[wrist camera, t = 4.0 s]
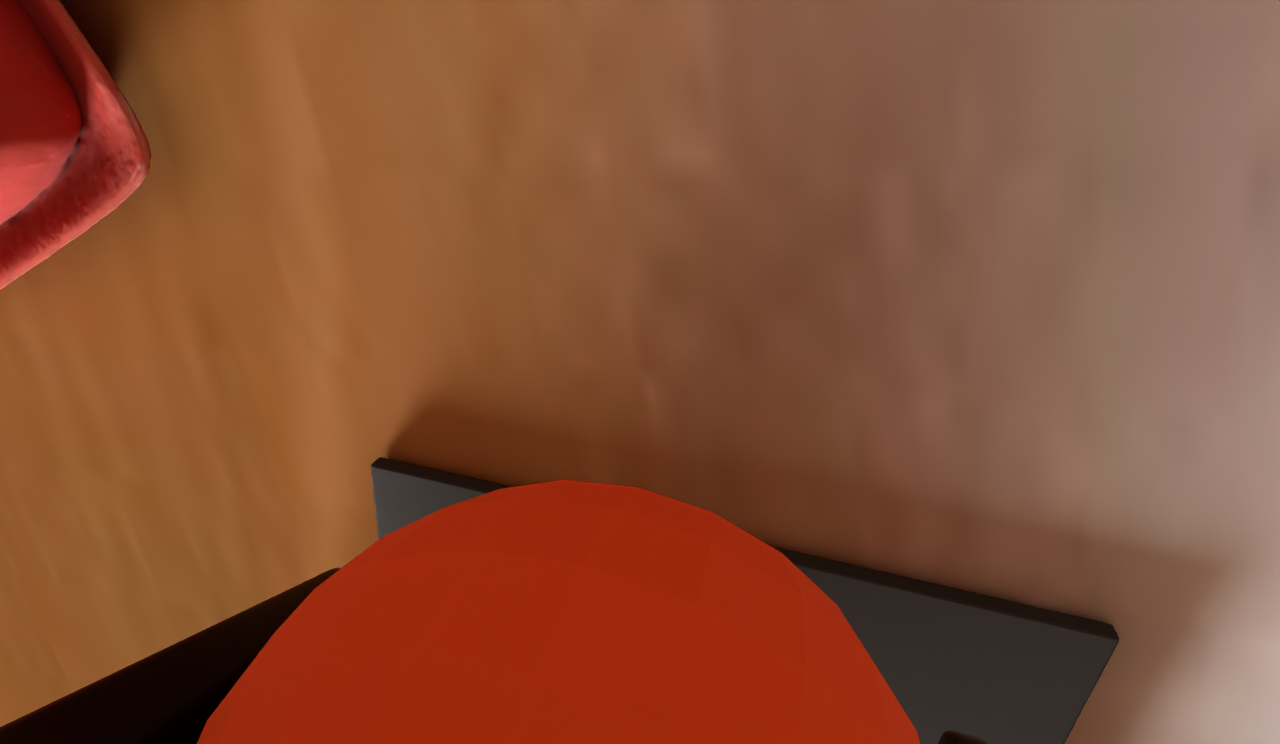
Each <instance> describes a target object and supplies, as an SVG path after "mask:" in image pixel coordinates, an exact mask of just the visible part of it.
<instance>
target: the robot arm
mask: <svg viewBox="0 0 1280 744" xmlns="http://www.w3.org/2000/svg"><path fill="white" fill-rule="evenodd" d="M340 569H341V568H334V569H331V570H329V571H326V572H324V573H322V574H320V575H318V576H316V577H314V578H312V579H310V580H308V581H306V582H303V583H301V584H299V585H297V586H295V587H293V588H291V589H289V590H287V591H285V592H283V593H280V594H278V595H276V596H274V597H272V598H270V599H268V600H266V601H264V602H262V603H259V604H257V605H255V606H253V607H251V608H249V609H247V610H245V611H243V612H241V613H239V614H236V615H234V616H232V617H230V618H228V619H226V620H224V621H222V622H220V623H218V624H216V625H213V626H211V627H209V628H207V629H205V630H203V631H201V632H199V633H197V634H195V635H193V636H190V637H188V638H186V639H184V640H182V641H180V642H178V643H176V644H174V645H172V646H170V647H167V648H165V649H163V650H161V651H159V652H157V653H155V654H153V655H151V656H149V657H146V658H144V659H142V660H140V661H138V662H136V663H134V664H132V665H130V666H128V667H126V668H123V669H121V670H119V671H117V672H115V673H113V674H111V675H109V676H107V677H105V678H103V679H100V680H98V681H96V682H94V683H92V684H90V685H88V686H86V687H84V688H82V689H80V690H77V691H75V692H73V693H71V694H69V695H67V696H65V697H63V698H61V699H59V700H57V701H54V702H52V703H50V704H48V705H46V706H44V707H42V708H40V709H38V710H36V711H33V712H31V713H29V714H27V715H25V716H23V717H21V718H19V719H17V720H15V721H13V722H10V723H8V724H6V725H4V726H2V727H0V744H197V742H198V740H199V738H200V736H201V733H202V731H203V729H204V726H205V724H206V722H207V720H208V719H209V717H210V716H211V715H212V714H213V712H214V711H215V710H216V708H217V707H218V706H219V704H220V703H221V702H222V701H223V699H224V698H225V697H226V695H227V694H228V693H229V691H230V690H231V689H232V688H233V686H234V685H235V684H236V682H237V681H238V680H239V678H240V677H241V676H242V674H243V673H244V672H245V671H246V669H247V668H248V667H249V665H250V664H251V663H252V661H253V660H254V659H255V658H256V656H257V655H258V654H259V652H260V651H261V650H262V648H263V647H264V646H265V645H266V643H267V642H268V641H269V639H270V638H271V637H272V635H273V634H274V633H275V632H276V631H277V629H278V628H279V627H280V626H281V625H282V624H283V623H284V622H285V621H286V620H287V618H288V617H289V616H290V615H291V614H292V613H293V612H294V611H295V610H296V609H297V608H298V606H299V605H300V604H301V603H302V602H303V601H304V600H305V599H306V598H307V597H308V595H309V594H310V593H311V592H312V591H313V590H314V589H315V588H316V587H318V586H319V585H320V584H322V583H323V582H324V581H325V580H327V579H328V578H329V577H331V576H332V575H333V574H335V573H336V572H337V571H339V570H340ZM938 744H988V743H987V742H986V741H984V740H983V739H981V738H978V737H974V736H971V735H967V734H963V733H959V732H956V731H946V732H944V733H943V734H942V736H941V738H940V740H939V742H938Z"/></svg>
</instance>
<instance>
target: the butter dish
mask: <svg viewBox="0 0 1280 744" xmlns="http://www.w3.org/2000/svg"><path fill="white" fill-rule="evenodd" d="M150 159H151V152H150V147H149V143H148V140H147V138H146V135H145V133H144V131H143V130H142V127H141V125H140V123H139V121H138V119H137V117H136V115H135V113H134V112H133V110H132V109H131V107H130V105H129V104H128V102H127V100H126V99H125V97H124V96H123V94H122V93H121V91H120V90H119V88H118V87H117V85H116V84H115V82H114V80H113V79H112V77H111V76H110V74H109V73H108V71H107V70H106V68H105V66H104V65H103V63H102V62H101V60H100V59H99V57H98V56H97V55H96V53H95V52H94V51H93V49H92V48H91V46H90V44H89V43H88V41H87V40H86V38H85V36H84V35H83V34H82V33H81V31H80V30H79V28H78V26H77V25H76V23H75V22H74V20H73V19H72V18H71V16H70V15H69V13H68V12H67V10H66V9H65V7H64V5H63V4H62V3H61V1H60V0H0V289H2V288H4V287H5V286H7V285H8V284H10V283H11V282H13V281H14V280H15V279H17V278H18V277H20V276H21V275H23V274H24V273H26V272H27V271H29V270H30V269H31V268H33V267H34V266H36V265H38V264H39V263H41V262H42V261H44V260H45V259H47V258H48V257H50V256H51V255H52V254H54V253H55V252H56V251H57V250H59V249H60V248H62V247H63V246H65V245H66V244H68V243H69V242H70V241H71V240H74V239H76V238H77V237H78V236H79V235H81V234H82V233H84V232H85V231H87V230H88V229H89V228H90V227H91V226H92V225H94V224H96V223H97V222H98V221H99V220H100V219H102V218H103V217H105V216H106V215H108V214H109V213H110V212H111V211H113V210H114V209H116V208H117V207H118V206H119V205H120V204H121V203H122V202H123V201H125V200H126V199H127V198H128V197H129V196H130V195H131V194H132V193H133V192H134V191H135V190H136V189H137V188H138V187H139V186H140V184H141V183H142V182H143V180H144V179H145V177H146V175H147V173H148V171H149V168H150Z"/></svg>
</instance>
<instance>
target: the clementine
mask: <svg viewBox="0 0 1280 744" xmlns="http://www.w3.org/2000/svg"><path fill="white" fill-rule="evenodd" d="M197 744H920V741H919V737H918V734H917V731H916V729H915V727H914V726H913V724H912V723H911V721H910V719H909V718H908V716H907V715H906V713H905V711H904V710H903V708H902V707H901V705H900V703H899V702H898V700H897V699H896V697H895V695H894V694H893V692H892V691H891V689H890V687H889V686H888V684H887V683H886V681H885V679H884V678H883V676H882V675H881V673H880V671H879V670H878V668H877V667H876V665H875V663H874V662H873V660H872V659H871V657H870V655H869V654H868V652H867V651H866V649H865V648H864V646H863V645H862V643H861V641H860V640H859V638H858V637H857V635H856V634H855V632H854V630H853V629H852V627H851V626H850V624H849V623H848V621H847V619H846V618H845V616H844V615H843V613H842V612H841V610H840V609H839V607H838V605H837V604H836V603H835V602H833V601H832V600H831V599H830V598H829V597H828V596H827V595H826V594H825V593H824V592H823V591H822V590H821V589H820V588H819V587H818V586H816V585H815V584H814V583H813V582H812V581H811V580H810V579H809V578H808V577H807V576H806V575H805V574H804V573H803V572H802V571H801V570H799V569H798V568H797V567H796V566H795V565H794V564H793V563H792V562H791V561H790V560H789V559H788V558H787V557H786V556H785V555H784V554H782V553H781V552H779V551H778V550H776V549H774V548H773V547H771V546H769V545H767V544H766V543H764V542H762V541H761V540H759V539H757V538H756V537H754V536H752V535H751V534H749V533H747V532H745V531H744V530H742V529H740V528H739V527H737V526H735V525H734V524H732V523H730V522H728V521H727V520H725V519H723V518H722V517H720V516H718V515H717V514H715V513H713V512H710V511H707V510H704V509H701V508H698V507H695V506H692V505H689V504H686V503H683V502H680V501H677V500H674V499H671V498H668V497H665V496H662V495H659V494H656V493H653V492H650V491H647V490H644V489H641V488H638V487H631V486H621V485H612V484H602V483H592V482H583V481H573V480H558V481H551V482H544V483H537V484H530V485H523V486H516V487H510V488H503V489H498V490H495V491H492V492H489V493H486V494H483V495H480V496H477V497H474V498H471V499H468V500H465V501H462V502H459V503H456V504H453V505H450V506H447V507H444V508H442V509H440V510H438V511H436V512H434V513H431V514H429V515H427V516H425V517H423V518H421V519H419V520H417V521H415V522H412V523H410V524H408V525H406V526H404V527H402V528H400V529H398V530H396V531H393V532H391V533H389V534H387V535H385V536H383V537H382V538H381V539H379V540H378V541H377V542H375V543H374V544H373V545H372V546H370V547H369V548H368V549H366V550H365V551H364V552H362V553H361V554H360V555H358V556H357V557H356V558H354V559H353V560H352V561H350V562H349V563H348V564H347V565H345V566H344V567H343V568H341V569H340V570H339V571H337V572H336V573H335V574H333V575H332V576H331V577H329V578H328V579H327V580H325V581H324V582H323V583H322V584H320V585H319V586H318V587H316V588H315V589H314V590H313V591H312V592H311V593H310V594H309V595H308V597H307V598H306V599H305V600H304V601H303V602H302V603H301V604H300V605H299V606H298V608H297V609H296V610H295V611H294V612H293V613H292V614H291V615H290V616H289V617H288V618H287V620H286V621H285V622H284V623H283V624H282V625H281V626H280V627H279V628H278V629H277V631H276V632H275V633H274V634H273V635H272V637H271V638H270V639H269V641H268V642H267V643H266V645H265V646H264V647H263V648H262V650H261V651H260V652H259V654H258V655H257V656H256V658H255V659H254V660H253V661H252V663H251V664H250V665H249V667H248V668H247V669H246V671H245V672H244V673H243V674H242V676H241V677H240V678H239V680H238V681H237V682H236V684H235V685H234V686H233V688H232V689H231V690H230V691H229V693H228V694H227V695H226V697H225V698H224V699H223V701H222V702H221V703H220V704H219V706H218V707H217V708H216V710H215V711H214V712H213V714H212V715H211V716H210V717H209V719H208V720H207V722H206V724H205V726H204V729H203V731H202V733H201V736H200V738H199V740H198V742H197Z"/></svg>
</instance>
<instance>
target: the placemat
mask: <svg viewBox="0 0 1280 744" xmlns="http://www.w3.org/2000/svg"><path fill="white" fill-rule="evenodd" d="M371 473H372V482H373V491H374V500H375V509H376V517H377V526H378V535H379V539H381V538H382V537H383V536H385V535H387V534H389V533H391V532H393V531H396V530H398V529H400V528H402V527H404V526H406V525H408V524H410V523H412V522H415V521H417V520H419V519H421V518H423V517H425V516H427V515H429V514H431V513H434V512H436V511H438V510H440V509H442V508H444V507H447V506H450V505H453V504H456V503H459V502H462V501H465V500H468V499H471V498H474V497H477V496H480V495H483V494H486V493H489V492H492V491H495V490H498V489H503V488H510V487H508V486H504V485H499V484H495V483H491V482H486V481H482V480H478V479H473V478H469V477H464V476H460V475H456V474H451V473H447V472H443V471H438V470H434V469H430V468H425V467H421V466H416V465H412V464H408V463H403V462H399V461H395V460H390V459H386V458H382V457H381V458H378V459H377V460H376V461H375V462H374V463H373V464H372V465H371ZM773 548H774V547H773ZM774 549H776V550H778V551H779V552H781V553H782V554H784V555H785V556H786V557H787V558H788V559H789V560H790V561H791V562H792V563H793V564H794V565H795V566H796V567H797V568H798V569H799V570H801V571H802V572H803V573H804V574H805V575H806V576H807V577H808V578H809V579H810V580H811V581H812V582H813V583H814V584H815V585H816V586H818V587H819V588H820V589H821V590H822V591H823V592H824V593H825V594H826V595H827V596H828V597H829V598H830V599H831V600H832V601H833V602H835V603H836V604H837V605H838V607H839V609H840V610H841V612H842V613H843V615H844V616H845V618H846V619H847V621H848V623H849V624H850V626H851V627H852V629H853V630H854V632H855V634H856V635H857V637H858V638H859V640H860V641H861V643H862V645H863V646H864V648H865V649H866V651H867V652H868V654H869V655H870V657H871V659H872V660H873V662H874V663H875V665H876V667H877V668H878V670H879V671H880V673H881V675H882V676H883V678H884V679H885V681H886V683H887V684H888V686H889V687H890V689H891V691H892V692H893V694H894V695H895V697H896V699H897V700H898V702H899V703H900V705H901V707H902V708H903V710H904V711H905V713H906V715H907V716H908V718H909V719H910V721H911V723H912V724H913V726H914V727H915V729H916V731H917V734H918V737H919V741H920V744H938V742H939V740H940V738H941V736H942V734H943V733H944V732H946V731H956V732H959V733H963V734H967V735H971V736H974V737H978V738H981V739H983V740H984V741H986V742H987V743H988V744H1064V743H1065V741H1066V739H1067V737H1068V735H1069V734H1070V732H1071V730H1072V728H1073V726H1074V724H1075V722H1076V720H1077V719H1078V717H1079V715H1080V713H1081V711H1082V709H1083V707H1084V705H1085V704H1086V702H1087V700H1088V698H1089V696H1090V694H1091V692H1092V691H1093V689H1094V687H1095V685H1096V683H1097V681H1098V679H1099V677H1100V676H1101V674H1102V672H1103V670H1104V668H1105V666H1106V664H1107V663H1108V661H1109V659H1110V657H1111V655H1112V653H1113V651H1114V649H1115V648H1116V646H1117V644H1118V642H1119V637H1118V635H1117V633H1116V631H1115V629H1114V627H1113V626H1112V625H1110V624H1105V623H1101V622H1097V621H1092V620H1088V619H1084V618H1079V617H1075V616H1071V615H1066V614H1062V613H1057V612H1053V611H1049V610H1044V609H1040V608H1036V607H1031V606H1027V605H1023V604H1018V603H1014V602H1010V601H1005V600H1001V599H996V598H992V597H988V596H983V595H979V594H975V593H970V592H966V591H962V590H957V589H953V588H948V587H944V586H940V585H935V584H931V583H927V582H922V581H918V580H914V579H909V578H905V577H901V576H896V575H892V574H887V573H883V572H879V571H874V570H870V569H866V568H861V567H857V566H853V565H848V564H844V563H839V562H835V561H831V560H826V559H822V558H818V557H813V556H809V555H805V554H800V553H796V552H791V551H787V550H783V549H778V548H774Z"/></svg>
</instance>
